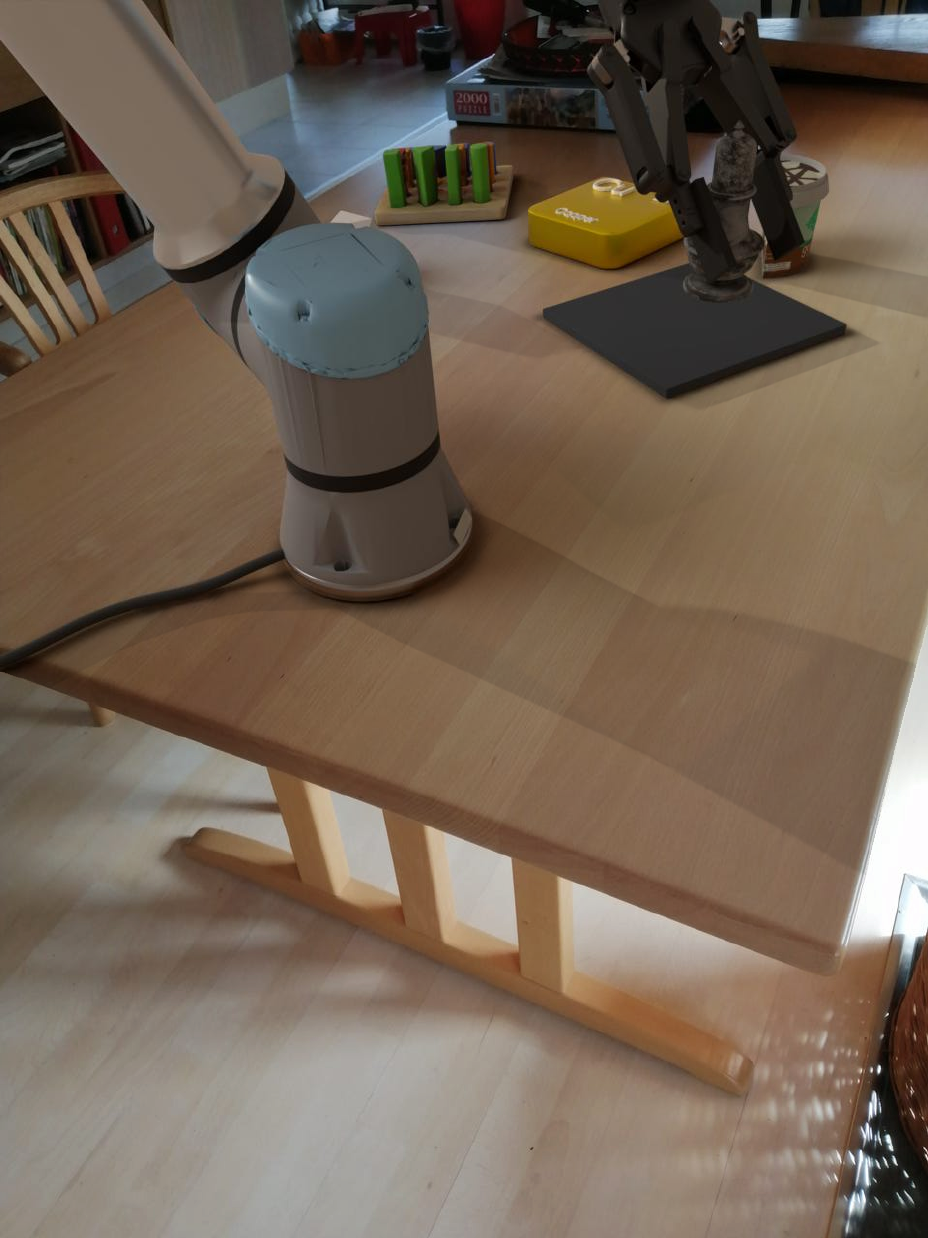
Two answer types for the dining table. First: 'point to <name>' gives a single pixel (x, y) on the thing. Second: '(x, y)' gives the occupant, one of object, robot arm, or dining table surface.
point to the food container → (799, 212)
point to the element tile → (603, 224)
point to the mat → (688, 330)
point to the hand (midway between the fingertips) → (756, 261)
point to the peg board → (443, 185)
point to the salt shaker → (730, 220)
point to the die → (354, 220)
